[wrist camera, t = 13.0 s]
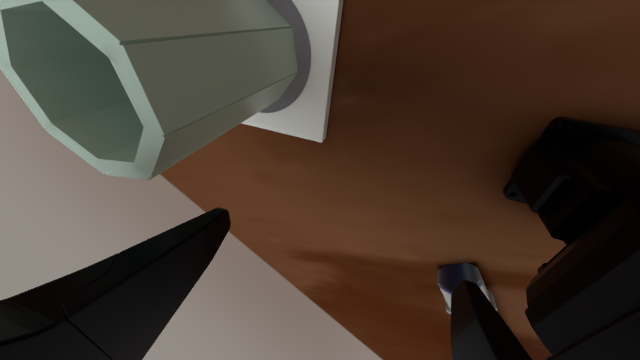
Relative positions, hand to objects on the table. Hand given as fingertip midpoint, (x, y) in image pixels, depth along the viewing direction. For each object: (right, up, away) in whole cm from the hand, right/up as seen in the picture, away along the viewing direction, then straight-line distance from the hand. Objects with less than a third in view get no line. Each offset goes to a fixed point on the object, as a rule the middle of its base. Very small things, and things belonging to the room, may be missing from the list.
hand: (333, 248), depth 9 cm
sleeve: (-5, +12, +9) cm, 16 cm away
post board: (-5, +13, +10) cm, 17 cm away
